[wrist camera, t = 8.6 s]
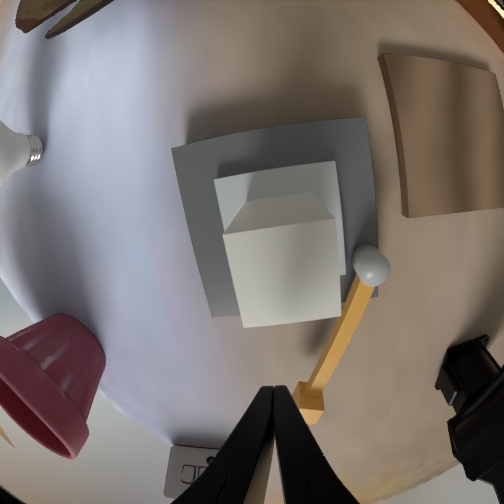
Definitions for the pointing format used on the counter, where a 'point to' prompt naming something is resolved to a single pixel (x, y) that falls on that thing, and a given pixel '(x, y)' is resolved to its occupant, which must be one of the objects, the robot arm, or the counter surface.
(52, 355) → the plant pot
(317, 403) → the ball-topped lever
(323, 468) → the robot arm
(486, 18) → the whiskey bottle
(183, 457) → the electrical switch
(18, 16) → the brown shallow curved piece
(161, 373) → the counter surface
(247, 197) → the plug
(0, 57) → the counter surface
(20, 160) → the light bulb
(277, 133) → the socket block
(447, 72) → the walnut board
